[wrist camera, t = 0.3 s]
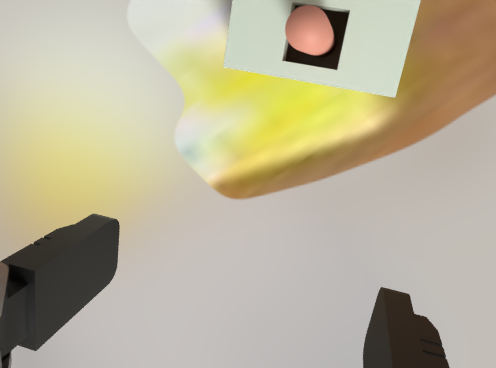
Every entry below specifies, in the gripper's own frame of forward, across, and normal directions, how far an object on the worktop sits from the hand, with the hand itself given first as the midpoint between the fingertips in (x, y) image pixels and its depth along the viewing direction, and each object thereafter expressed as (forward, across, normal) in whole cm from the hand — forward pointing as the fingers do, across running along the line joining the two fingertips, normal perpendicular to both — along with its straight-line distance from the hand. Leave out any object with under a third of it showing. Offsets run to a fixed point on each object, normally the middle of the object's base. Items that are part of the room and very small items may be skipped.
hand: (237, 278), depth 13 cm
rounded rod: (+26, +1, -8) cm, 27 cm away
